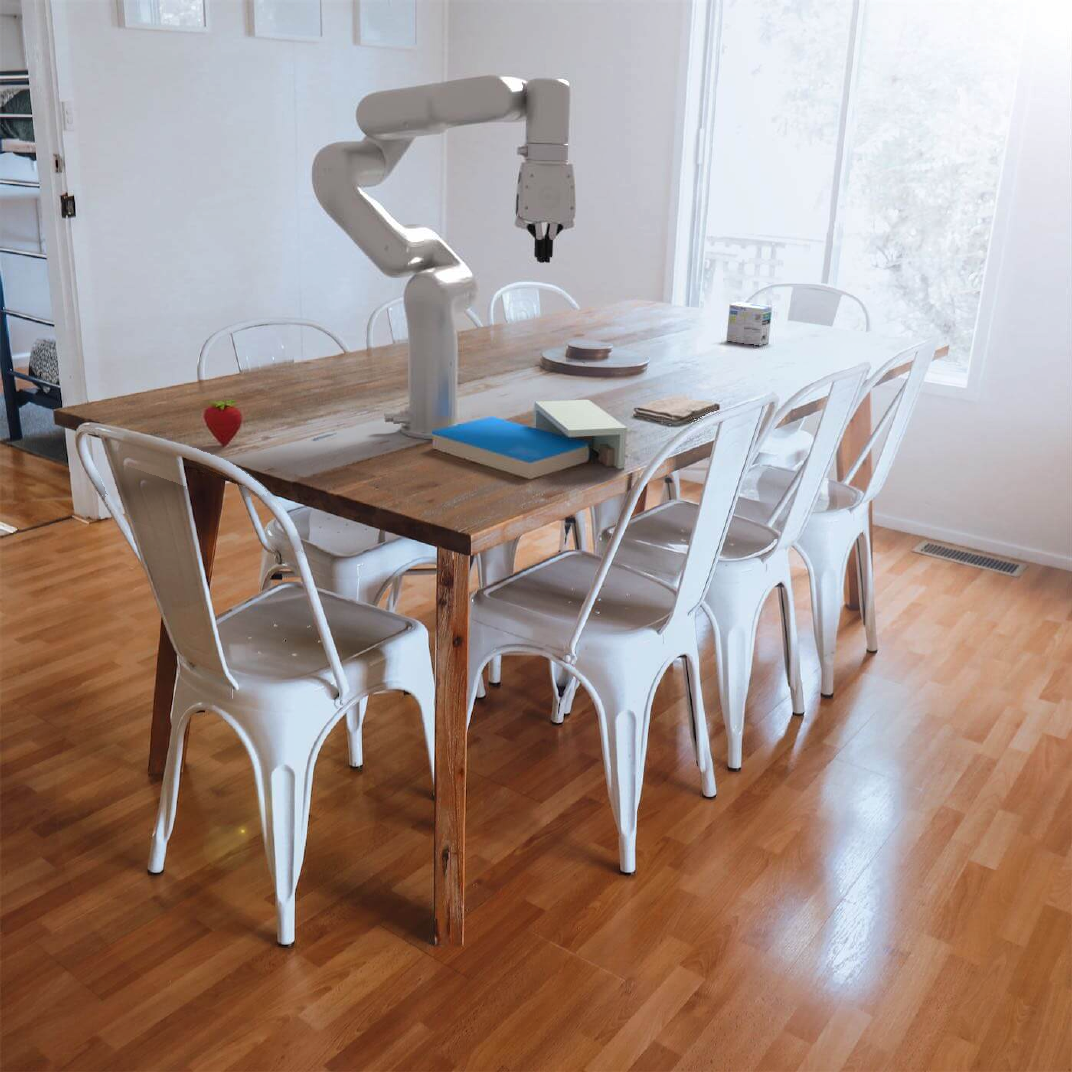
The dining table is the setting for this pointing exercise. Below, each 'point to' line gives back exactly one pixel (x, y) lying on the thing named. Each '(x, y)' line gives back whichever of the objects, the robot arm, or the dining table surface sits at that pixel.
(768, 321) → the light bulb box
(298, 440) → the dining table surface
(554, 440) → the book
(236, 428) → the strawberry
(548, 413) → the shelf
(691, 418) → the washcloth
